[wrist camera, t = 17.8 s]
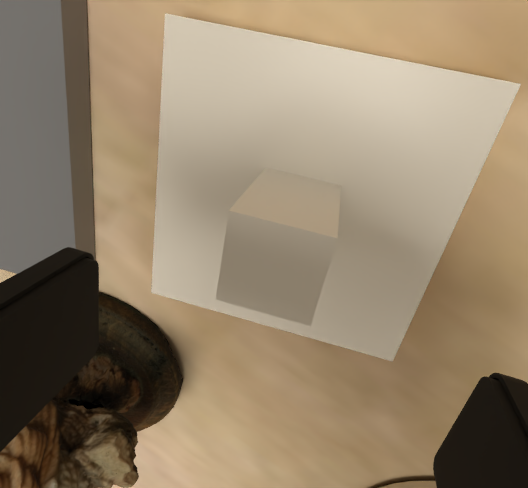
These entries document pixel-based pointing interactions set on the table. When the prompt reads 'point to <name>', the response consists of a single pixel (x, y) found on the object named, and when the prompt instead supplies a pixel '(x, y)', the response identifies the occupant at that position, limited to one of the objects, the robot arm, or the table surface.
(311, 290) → the cover
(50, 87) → the base
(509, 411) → the robot arm
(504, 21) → the table surface
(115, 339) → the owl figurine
